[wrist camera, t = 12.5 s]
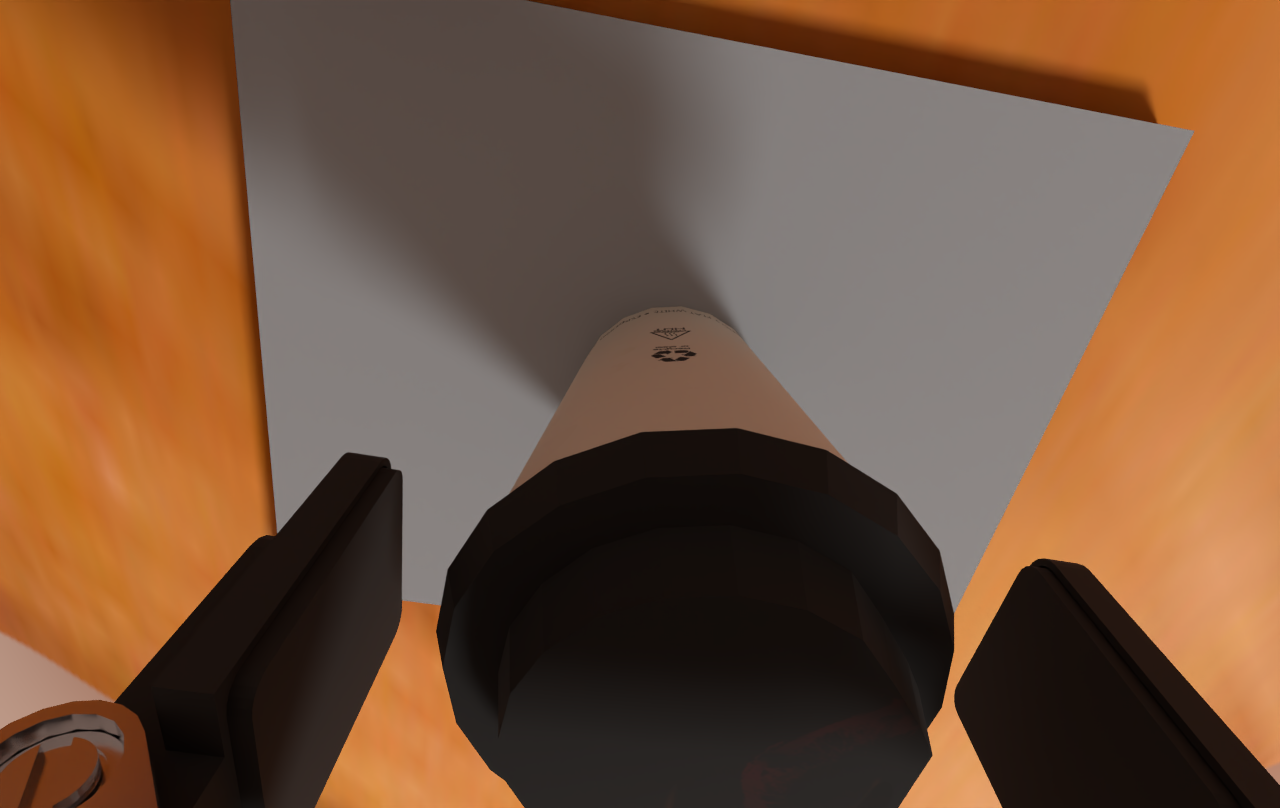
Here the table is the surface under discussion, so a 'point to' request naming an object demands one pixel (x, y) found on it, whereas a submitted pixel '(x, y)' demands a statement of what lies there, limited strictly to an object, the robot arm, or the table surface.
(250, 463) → the table surface
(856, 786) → the coffee cup
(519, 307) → the desk mat
